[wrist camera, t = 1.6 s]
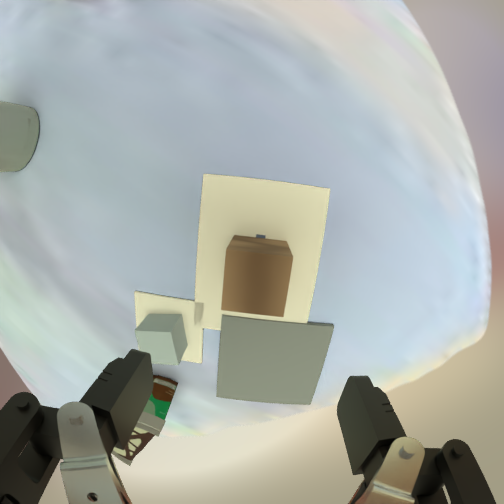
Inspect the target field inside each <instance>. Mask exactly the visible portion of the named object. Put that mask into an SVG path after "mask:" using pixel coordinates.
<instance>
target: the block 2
mask: <svg viewBox="0 0 504 504" xmlns="http://www.w3.org/2000/svg"><path fill="white" fill-rule="evenodd" d="M292 263H293V255H292V253H291V250H290V248H289V245H288V243H287V241H282V240H274V239H266V238H257V237H249V236H240V235H234V236H233V238H232V240H231V241H230V243H229V245H228V247H227V248H226V256H225V267H224V279H223V291H222V304H221V310H225V311H232V312H240V313H249V314H257V315H266V316H276V317H284V311H285V305H286V300H287V294H288V288H289V282H290V275H291V269H292Z"/></svg>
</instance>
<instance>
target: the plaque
mask: <svg viewBox="0 0 504 504" xmlns="http://www.w3.org/2000/svg"><path fill="white" fill-rule="evenodd" d="M134 293H135V311H136V325H137V327H138V326H139V325H140V323H141V322H142V321H143V320H144V319H145V317H146V316H147V315H148V314H182V318H183V323H184V329H185V334H186V339H187V344H188V346H187V348H186V350H185V352H184V354H183V357H182V359H181V360H184V361H190V362H195V363H201V364H202V351H203V328H200V327H194V316H195V315H197V314H196V313H197V312H195V311H194V307H195V305H196V304H197V303H196V302H195V301H194V300H187V299H181V298H174V297H168V296H162V295H156V294H150V293H145V292H139V291H135V292H134ZM195 303H196V304H195ZM202 304H204V303H202ZM197 305H199V304H197ZM197 305H196V306H197ZM200 305H201V304H200ZM203 306H204V305H203ZM198 307H199V306H198ZM198 307H197V308H198ZM195 308H196V307H195ZM203 308H204V307H203ZM199 310H204V309H202V307H200V309H199ZM199 310H198V312H199ZM196 311H197V309H196ZM202 312H204V311H201V312H199V314H200V313H201V314H202ZM194 313H195V314H194ZM201 314H200V315H201ZM201 316H202V315H201ZM201 316H200V317H201ZM202 317H203V316H202ZM196 318H197V317H196ZM196 318H195V319H196ZM198 318H199V317H198ZM201 319H202V318H201ZM201 319H200V320H201ZM200 320H199V321H200ZM196 321H198V320H197V319H196ZM196 321H195V322H196ZM196 323H197V322H196ZM201 324H202V323H201ZM195 325H196V324H195ZM198 326H200V325H198ZM201 326H203V325H201ZM138 346H139V345H138ZM139 351H140V348H139Z"/></svg>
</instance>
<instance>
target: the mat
mask: <svg viewBox="0 0 504 504" xmlns="http://www.w3.org/2000/svg"><path fill="white" fill-rule="evenodd" d="M333 329H334V325H333V324H325V323H311V322H307V323H295V322H284V321H274V320H265V319H256V318H247V317H239V316H231V315H223V314H222V320H221V333H220V348H219V363H218V379H217V396H216V397H221V398H228V399H236V400H244V401H254V402H266V403H280V404H303V405H310V404H311V401H312V398H313V395H314V392H315V389H316V386H317V383H318V380H319V377H320V374H321V371H322V368H323V364H324V361H325V358H326V354H327V351H328V347H329V344H330V340H331V337H332V333H333Z"/></svg>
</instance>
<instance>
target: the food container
mask: <svg viewBox="0 0 504 504" xmlns="http://www.w3.org/2000/svg"><path fill="white" fill-rule="evenodd" d="M153 381H154V383H153V390H152V394H151V396H150V398H149V400H148V402H147V404H146V406H145V408H144V410H143V412H142V414H141V416H140V418H139V420H138V422H137V424H136V426H135V428H134V430H133V432H132V434H131V437H130V439H129V441H128V443H127V445H126V447H125V449H124V450H121V449H118V448H115V447H114V449H113V451H112V454H113V455H115V457H117V458H118V459H120V460H121V461H123V462H124V463H126V464H127V465H129V466H130V465H131V463H132V460H133V458H134V457H135V456H136V455H137V454H138V453H139V452H140V451H141V450H142V449H143V448H144V447H145V446H146V445H147V443H148V442H149V441H150V440H151V439H152V438H153V437H154V436H155V435H156V436H159V434H160V432H161V430H162V428H163V426H164V423H165V417H166V415H167V412H168V409H169V406H170V404H171V401H172V398H173V396H174V393H175V390H176V388H177V385H178V383H177V382H175V381H173V380H171V379H169V378H166V377H162V376H159V375H153Z"/></svg>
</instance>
